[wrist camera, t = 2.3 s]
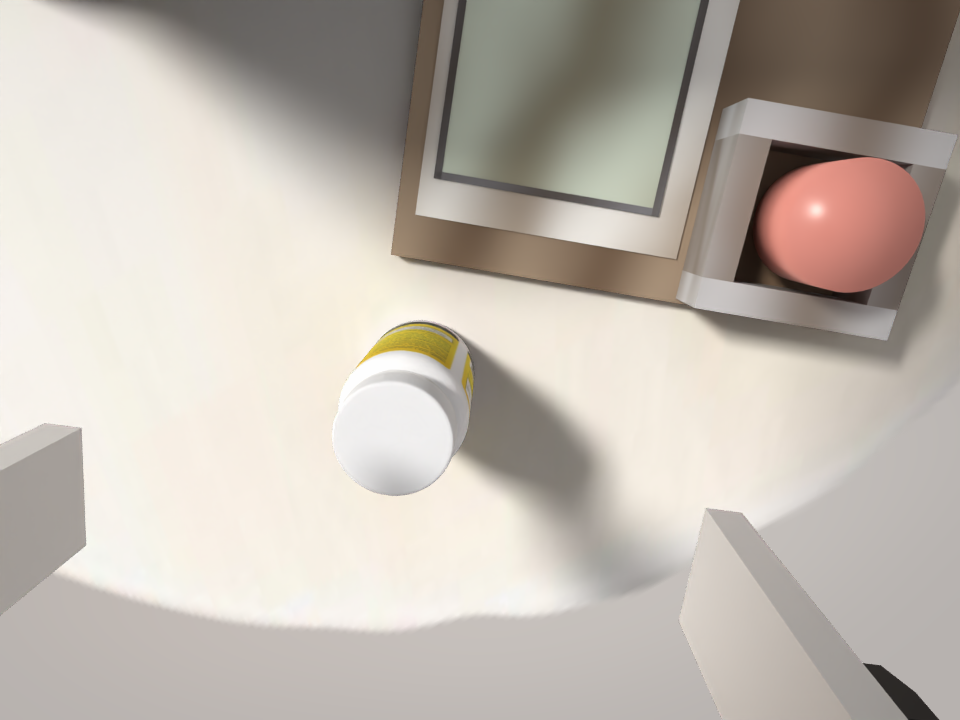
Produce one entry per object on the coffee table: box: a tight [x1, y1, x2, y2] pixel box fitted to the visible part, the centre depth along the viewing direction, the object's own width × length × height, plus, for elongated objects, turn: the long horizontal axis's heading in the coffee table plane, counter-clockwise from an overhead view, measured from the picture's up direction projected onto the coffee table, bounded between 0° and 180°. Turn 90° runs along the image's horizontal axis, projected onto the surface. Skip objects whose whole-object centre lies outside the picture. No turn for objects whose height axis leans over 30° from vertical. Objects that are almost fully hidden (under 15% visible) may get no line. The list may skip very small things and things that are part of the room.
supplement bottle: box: [332, 320, 474, 496], centre depth 23 cm, size 5×5×8 cm
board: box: [391, 0, 960, 341], centre depth 23 cm, size 20×14×3 cm
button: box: [753, 157, 925, 293], centre depth 22 cm, size 4×4×3 cm
